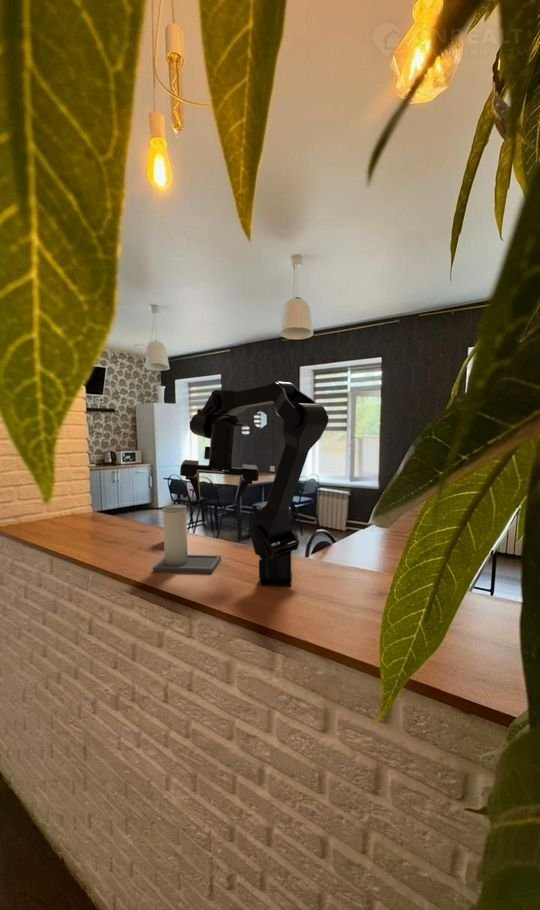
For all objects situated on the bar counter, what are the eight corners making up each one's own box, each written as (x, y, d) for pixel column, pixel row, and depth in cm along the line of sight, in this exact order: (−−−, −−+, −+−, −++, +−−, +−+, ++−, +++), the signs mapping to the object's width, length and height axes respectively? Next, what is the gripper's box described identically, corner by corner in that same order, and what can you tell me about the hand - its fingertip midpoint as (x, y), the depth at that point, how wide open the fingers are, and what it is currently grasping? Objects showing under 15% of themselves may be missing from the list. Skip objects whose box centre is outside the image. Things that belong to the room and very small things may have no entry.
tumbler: (188, 557, 100) (187, 504, 99) (187, 565, 94) (185, 508, 93) (165, 559, 99) (164, 505, 98) (163, 566, 94) (161, 509, 92)
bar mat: (221, 559, 100) (220, 555, 100) (212, 573, 91) (212, 568, 91) (166, 558, 102) (166, 554, 101) (152, 571, 93) (152, 567, 93)
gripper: (258, 439, 106) (252, 496, 109) (186, 433, 104) (182, 491, 107) (261, 448, 95) (255, 510, 98) (181, 441, 93) (177, 505, 96)
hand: (217, 503), depth 100 cm, fingers open, 9 cm apart
